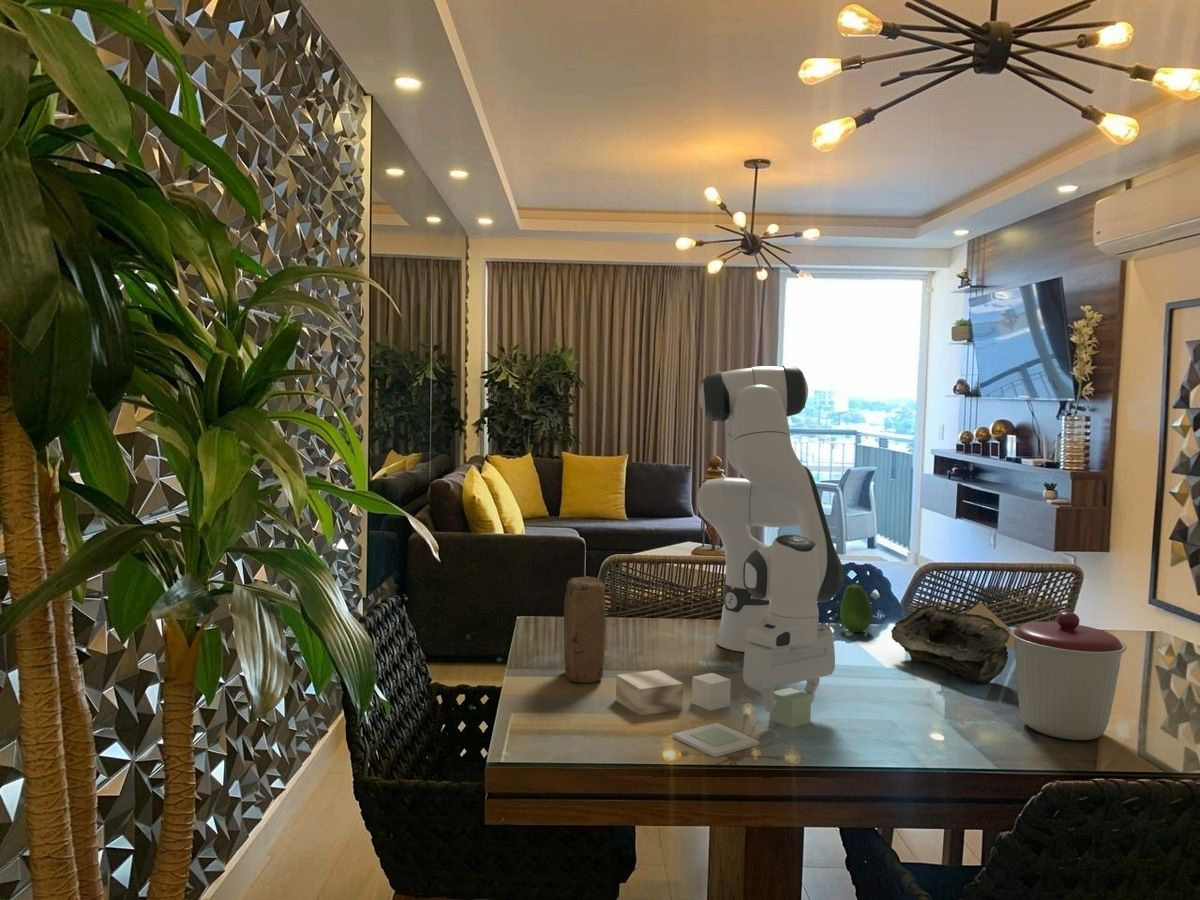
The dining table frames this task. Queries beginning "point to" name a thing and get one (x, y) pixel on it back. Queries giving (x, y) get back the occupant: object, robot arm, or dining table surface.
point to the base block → (649, 692)
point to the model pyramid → (985, 612)
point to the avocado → (855, 609)
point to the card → (715, 739)
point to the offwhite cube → (711, 691)
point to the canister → (1066, 676)
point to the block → (584, 629)
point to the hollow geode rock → (954, 642)
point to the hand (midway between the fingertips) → (789, 706)
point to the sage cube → (791, 707)
